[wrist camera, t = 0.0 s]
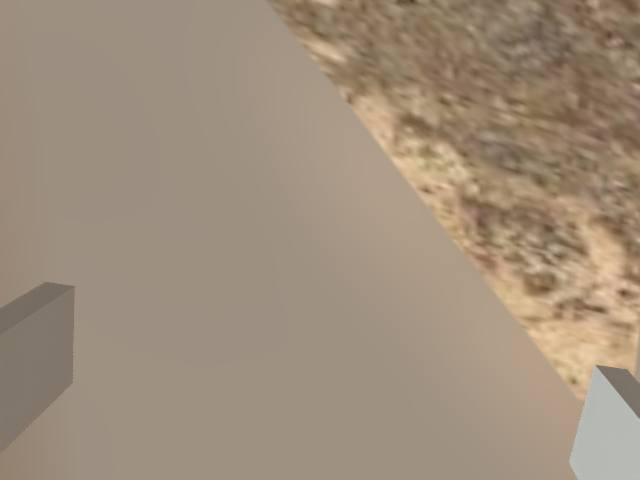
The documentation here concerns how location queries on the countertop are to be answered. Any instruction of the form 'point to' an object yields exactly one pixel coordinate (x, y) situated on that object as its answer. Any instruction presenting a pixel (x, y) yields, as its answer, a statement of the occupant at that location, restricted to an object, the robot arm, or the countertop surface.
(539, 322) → the countertop surface
